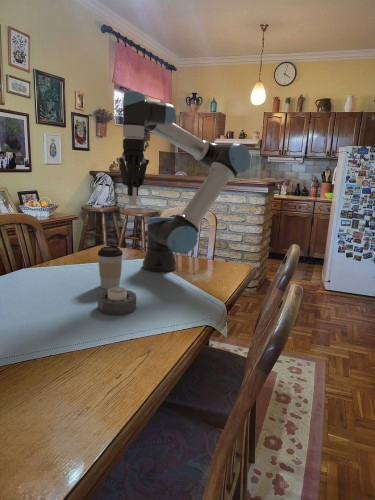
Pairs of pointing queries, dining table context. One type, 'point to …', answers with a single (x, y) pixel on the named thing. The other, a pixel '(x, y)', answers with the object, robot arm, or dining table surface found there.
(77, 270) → the dining table surface
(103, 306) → the dark round ashtray
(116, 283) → the coffee cup
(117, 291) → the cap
